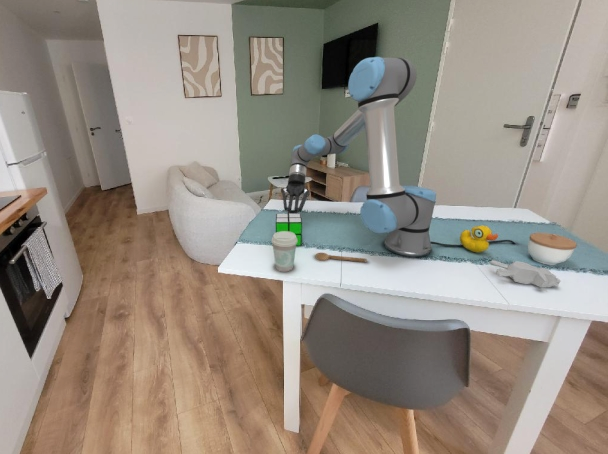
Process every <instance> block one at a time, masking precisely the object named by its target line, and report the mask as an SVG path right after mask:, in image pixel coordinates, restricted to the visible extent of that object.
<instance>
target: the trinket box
mask: <svg viewBox="0 0 608 454" xmlns="http://www.w3.org/2000/svg"><path fill="white" fill-rule="evenodd" d="M577 246H578V244H577V242H576V241H575V240H574V239H571V238H569V237H565V236H564V235H559V234H555V233H548V232H533V233H531V234H530V235H529V237H528V242H527V252H528V255H529V256H530V257H531V259H532V260H533V261H535V262H537V263H539V264H542V265H543V264H544V265H548V266H556V265H558V264H561V263H564V262H565V261H567V260H568V259H570V257H571V256H572V255H573V253H574V252H575V249H576V248H577Z"/></svg>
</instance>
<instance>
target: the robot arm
mask: <svg viewBox="0 0 608 454" xmlns="http://www.w3.org/2000/svg"><path fill="white" fill-rule="evenodd" d="M417 76H418V74H417V68H416V67H415V65H414V63H413V62H412V61H410V60H409V59H407V58H405V57H381V56H374V57H366V58H364V59H362V60H360V61H359V62H358V63H357V64H356V65H355V67H354V68H353V70H352V72H351V74H350V76H349V79H348V85H347V89H348V94H349V97H351V98H352V99H353V100H354V101H355V102H357V109H356V111H354V113H353V114H352V115H351V116H350V117H349V118H348V119H347V120H346V121H345V122H344V123H343V124H342V125H341V126H340V127H339V128H338V129H336V131H335V132H334V133H333V134H332V135H330V136H327V137H325V136H324V137H323V136H322V135H320V134H317V133H316V134H312V135H311V136H310V137H308V138H307V139H306V140H305V141H304V142H303V143H302V144H298V145H295V146H294V147H293V149H292V152H291V159H290V166H289V173H288V178H287V179H288V180H287V185H286V187H285V188H281V189H280V193H281V196H282V203H283V209H284V211H286V212H287V213H286V214H298V213H299V212H301V213H302V211H303V208H304V207H305V203H306V201H307V199H308V197H309V196H310V194H311V192H310V190H309V189H306V177H307V170H308V164H309V162H311V161H312V160H313V159H314V158H316V157H321V156H322V157H323V156H328V155H329V156H330V155H336V154H337V155H338V154H342V153H344V152H346V151H347V150H348V148H349V143H351V142H352V141H353V140H355V138H356V137H358V136H359V135H360V134H361V133H362V132H364V131H365V141H366V151H367V162H368V164H367V165H368V174H369V184H370V185H369V187H370V188H369V189H368V190H367V191H366V193H365V196H366V200H365V202H363V203H362V205H361V207H360V212H359V213H360V218H361V221H362V223H363V224H364V226H365V227H367V229H368V230H369V231H371V232H372V233H375V234H385V233H387V235H386V237H385V239H384V245H383V246H384V247H385V249H386V250H388V251H389V252H391V253H392V254H395V255H397V256H403V257H408V258H423V257H427V256H428V255H430V254H431V252H432V245H437V246H440V247H441V246H443V247H452V248H454V247H455V248H458V247H459V248H465V247H464V246H463V245H462V244H447V243H440V242H438V241H437V242H436V241H431V237H430V227H431V224H432V218H433V214H434V210H435V205H436V202H437V201H436V199H437V193H436V191H435V190H433V189H430V188H426V187H422V186H417V185H401V184H400V176H399V175H400V174H399V162H398V146H397V134H396V120H395V107H396V106H397V105H399V104H400V103H401V102H402V101H403V100H404V99H405V98H406V97H407V96H408V95H410V93H411V92H412V90H413V89H414V87H415V85H416V81H417ZM286 194H288V195H289V199H288V203H287V195H286ZM302 195H303V196H302ZM300 196H302V198H301V201H300ZM294 197H295V200H294ZM299 202H300V203H299ZM293 203H294V208H293ZM292 208H293V210H292ZM488 243H489V244H494V243H496V244H497V243H511V244H512V245H516V241H513V240H511V239H499V240H492V241H489V240H488Z"/></svg>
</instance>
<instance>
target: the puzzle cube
mask: <svg viewBox="0 0 608 454" xmlns="http://www.w3.org/2000/svg"><path fill="white" fill-rule="evenodd" d="M280 231H288V232H292V233H294V234H295V235H296V238H297V241H298V242H297V244H296V247H297V246H298V247H299V246H300V247H301V246H302V241H303V240H302V239H303V238H302V237H303V221H302V214H301V213H297V214H287V213H276V214H275V233H277V232H280Z"/></svg>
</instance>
